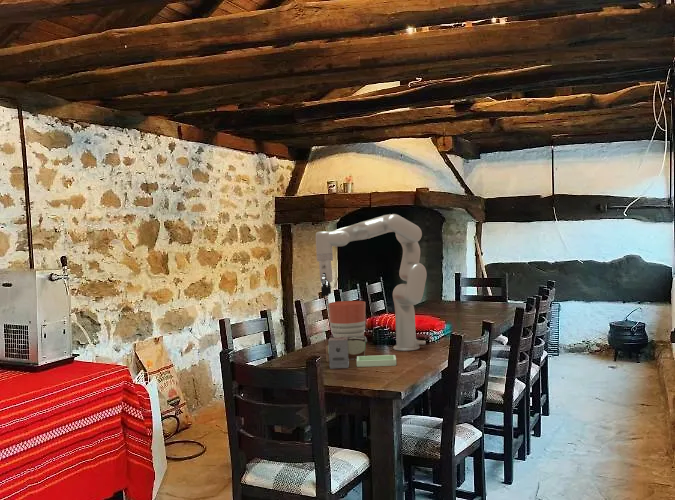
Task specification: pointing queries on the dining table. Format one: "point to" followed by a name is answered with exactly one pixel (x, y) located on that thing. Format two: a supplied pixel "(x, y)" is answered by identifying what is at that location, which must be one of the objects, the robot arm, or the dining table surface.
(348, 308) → the planter
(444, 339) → the dining table surface
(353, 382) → the dining table surface
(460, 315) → the dining table surface
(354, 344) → the food container
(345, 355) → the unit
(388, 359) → the tray
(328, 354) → the walnut cartridge
